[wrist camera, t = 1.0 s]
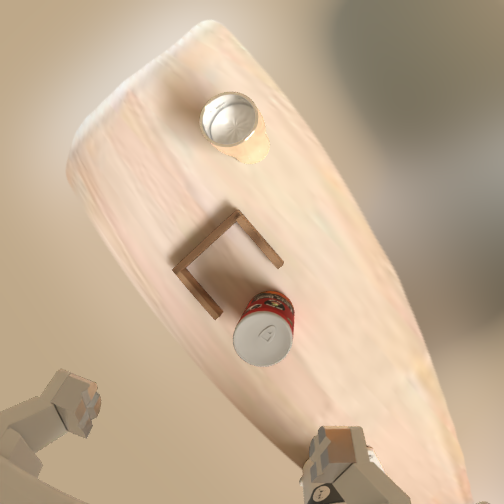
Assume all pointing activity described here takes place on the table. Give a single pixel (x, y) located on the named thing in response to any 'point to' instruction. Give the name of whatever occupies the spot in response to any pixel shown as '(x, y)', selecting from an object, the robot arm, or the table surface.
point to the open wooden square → (181, 267)
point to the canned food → (265, 330)
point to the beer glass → (235, 127)
